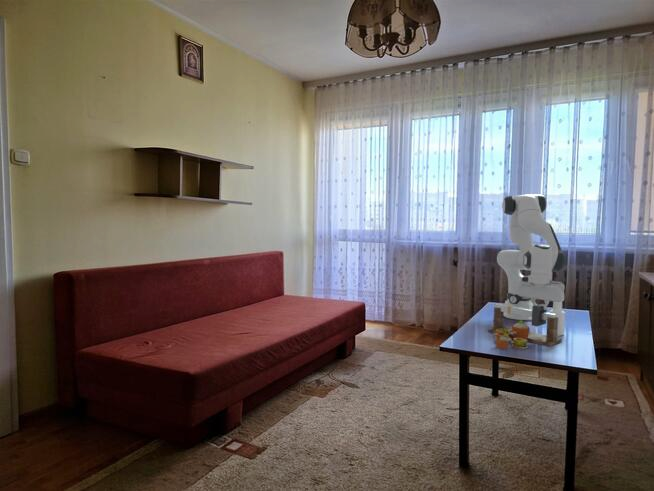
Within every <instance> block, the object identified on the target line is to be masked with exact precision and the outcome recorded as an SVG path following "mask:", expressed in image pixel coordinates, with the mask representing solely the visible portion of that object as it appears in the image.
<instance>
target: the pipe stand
mask: <svg viewBox="0 0 654 491" xmlns="http://www.w3.org/2000/svg"><path fill="white" fill-rule="evenodd" d="M504 312H507V313H508V314H511V313H512V314H517V315H522V316H527V317H532V310H531V309H525V308H520V307H514V306H513V305H511V306H508V305H505V304H502V303H496V304H495V307H493V326H492V327H490V328H488V329H487V332H488V333H492V334H495V333H496V329H501V328H502V329H505V330H508V335H509V337H510V338H511V339H513V330H512V327H511V326H510V327H509V326H505V325H504V317H505V316H504ZM539 319H543V320H546V334H541V333H538V332H537V333H536V332H533V331H529V334H528V338H527V341H526V342H529V343H533V344H538V345H540V346H541V345H542V346H545V347H549V348H550V347H553V346H556V345H558V344H561V343H562V342H563V339H562V338H560V337H558V335H557V329H558V317H557V314H553V313H549V312H548V311H547V312H542V311H540V317H539ZM494 332H495V333H494Z"/></svg>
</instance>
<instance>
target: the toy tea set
mask: <svg viewBox="0 0 654 491" xmlns="http://www.w3.org/2000/svg"><path fill="white" fill-rule="evenodd" d="M511 328H512V330H513V338H512V337H509V335H508V330H505V329H502V328H501V329H496V333H495V332H494V333H493V337H495V338H494V341H495V348H497V349H500V350H508V348H509V343H510V344H511V346H512V348H513V347H514V348H516V349H520V350H521V349H522V350H523V349H525V350H526V349H528V348H529V346H528V342H529V341H527V338H528V334H529V332H530V331H531V330H530V327H529V326H528V325H527V324H525V323H524V320H518V322H516V323H515V324H513V325H512V327H511ZM512 339H513V340H512Z"/></svg>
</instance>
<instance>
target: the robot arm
mask: <svg viewBox="0 0 654 491" xmlns="http://www.w3.org/2000/svg"><path fill="white" fill-rule="evenodd" d="M547 205H548V204H547V199H546V197H545V196H544V195H543V194H517V195H509V196H506V197H504V198H503V201H502V203H501V208H502V211H503V213H504V214H505V215H509V216H510V221H509V239H510V241H511V242H512V243H513V244H515V245H517V247H518V248H519V249H504V250H501V251H499V252H498V253H497V256H496V262H497V264H498V265H499V267H501V268H502V269H503V270H504V272H505V274H506V276H507V277H506V278H507V283H508V284H507V285H508V286H507V287H508V288H507V290H508V292H506V299H507V300H505V302H504V305H508V306H511V305H513V306H514V307H520V308H525V309H531V310H532V306H535V305H539V304H538V303H537V302H536V300H542V301H544V302H543V304H544V305H543V306H542V309H543V310H546V308H547V309H548V305H549V303H550V302H552V303H553V302H562V303H563V302H564V301H565V290H566V289H565V284H564V283H563V282H562V281H555V280H552V279H553V272H554V273H555V272H556V273H559V272H561V271H563V270H564V269H565V268H566V266H567V257H566V254H565V253H564V251H563V249H562V247H561V244H560V243H559V240H558V238H557V235H556V233H555V230H554V228H553V226H552V224H550V223H549V222H547V221H546V220H545V218H544V217H543V213H544V212H545V211H546V208H547ZM532 234H534V235H536V236H539V237H541V238H543V239H544V240H545V242H546V244H545V243H542V244H541V243H537V244H534V243H533V238H532V237H533V236H532ZM522 270H525V271H530V274H528V275H523V274H522V272H521V271H522ZM504 317H505V318H507V319H510V320H518V321H532V317H527V316H522V315H517V314H512V313H511V314H508V313H507V312H504Z"/></svg>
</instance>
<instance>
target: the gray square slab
mask: <svg viewBox="0 0 654 491" xmlns="http://www.w3.org/2000/svg"><path fill="white" fill-rule="evenodd" d="M544 304H545V303H539V304H538V305H535V306H532V320H531V326H534V327H539V326H542V325H543V326H544V325H547V320H543V319H539V317H540V311H542V312H547V313H548V310H547V309H548V307H547V308H546V310H543V309H542V306H543V305H544Z"/></svg>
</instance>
